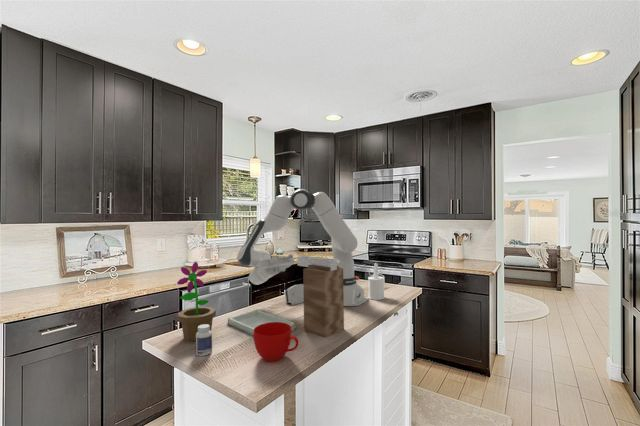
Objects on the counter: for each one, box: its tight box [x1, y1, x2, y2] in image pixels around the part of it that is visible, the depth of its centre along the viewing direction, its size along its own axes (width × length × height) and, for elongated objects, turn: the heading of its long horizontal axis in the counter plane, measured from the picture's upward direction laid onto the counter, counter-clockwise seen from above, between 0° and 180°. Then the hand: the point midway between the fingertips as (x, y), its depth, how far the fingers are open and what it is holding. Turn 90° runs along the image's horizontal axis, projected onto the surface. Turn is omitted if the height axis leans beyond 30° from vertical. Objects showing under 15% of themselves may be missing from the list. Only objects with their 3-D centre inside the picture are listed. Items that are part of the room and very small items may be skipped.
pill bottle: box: [195, 324, 213, 357], centre depth 112 cm, size 5×5×10 cm
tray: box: [227, 309, 297, 337], centre depth 138 cm, size 16×28×3 cm, turn 47°
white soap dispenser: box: [367, 262, 386, 301], centre depth 181 cm, size 10×9×20 cm
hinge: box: [284, 283, 304, 306], centre depth 177 cm, size 17×5×10 cm, turn 136°
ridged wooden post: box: [302, 265, 345, 338], centre depth 133 cm, size 12×12×27 cm
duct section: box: [296, 255, 337, 271], centre depth 136 cm, size 4×20×4 cm, turn 46°
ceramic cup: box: [253, 322, 300, 363], centre depth 107 cm, size 13×17×10 cm
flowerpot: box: [177, 261, 217, 343], centre depth 127 cm, size 14×14×30 cm
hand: (284, 256), depth 153 cm, fingers open, 8 cm apart
